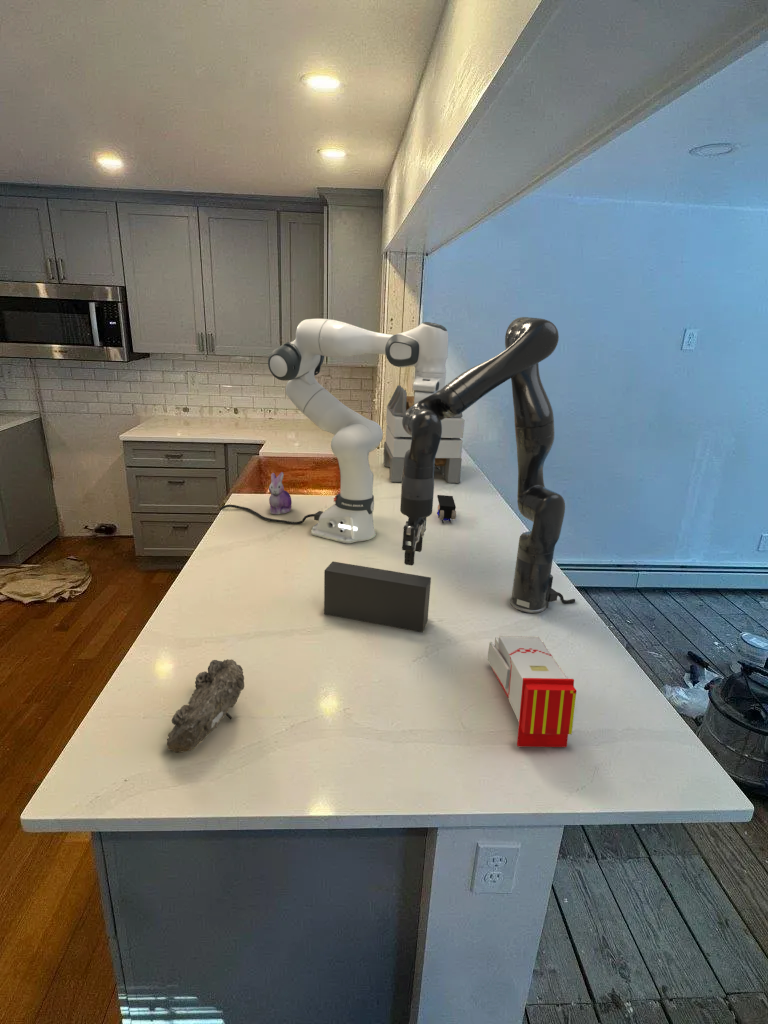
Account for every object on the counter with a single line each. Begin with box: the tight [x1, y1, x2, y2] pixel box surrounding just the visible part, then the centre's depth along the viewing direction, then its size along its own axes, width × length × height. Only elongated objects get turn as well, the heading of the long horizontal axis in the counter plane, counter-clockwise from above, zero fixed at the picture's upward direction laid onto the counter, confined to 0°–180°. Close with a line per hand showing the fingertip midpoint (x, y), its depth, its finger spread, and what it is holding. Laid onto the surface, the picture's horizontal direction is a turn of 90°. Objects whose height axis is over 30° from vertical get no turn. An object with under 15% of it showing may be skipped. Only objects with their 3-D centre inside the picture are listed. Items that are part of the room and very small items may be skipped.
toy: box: [486, 635, 577, 748], centre depth 115 cm, size 12×13×30 cm
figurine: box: [268, 471, 293, 515], centre depth 214 cm, size 9×10×15 cm
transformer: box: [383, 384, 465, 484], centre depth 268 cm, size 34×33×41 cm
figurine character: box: [436, 494, 457, 524], centre depth 215 cm, size 7×8×15 cm
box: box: [323, 561, 432, 633], centre depth 143 cm, size 26×6×12 cm, turn 74°
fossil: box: [166, 658, 245, 754], centre depth 106 cm, size 22×10×15 cm
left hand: (425, 429), depth 169 cm, fingers open, 8 cm apart
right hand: (413, 557), depth 137 cm, fingers open, 8 cm apart
